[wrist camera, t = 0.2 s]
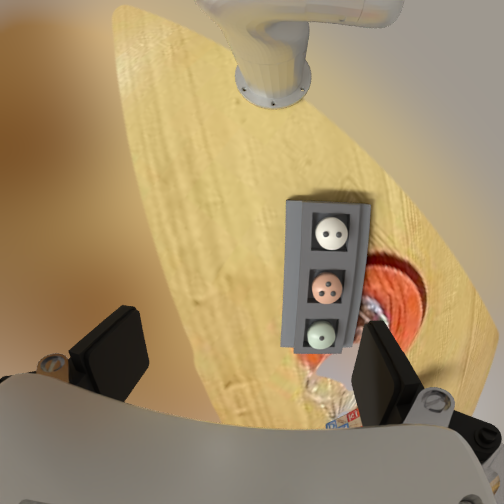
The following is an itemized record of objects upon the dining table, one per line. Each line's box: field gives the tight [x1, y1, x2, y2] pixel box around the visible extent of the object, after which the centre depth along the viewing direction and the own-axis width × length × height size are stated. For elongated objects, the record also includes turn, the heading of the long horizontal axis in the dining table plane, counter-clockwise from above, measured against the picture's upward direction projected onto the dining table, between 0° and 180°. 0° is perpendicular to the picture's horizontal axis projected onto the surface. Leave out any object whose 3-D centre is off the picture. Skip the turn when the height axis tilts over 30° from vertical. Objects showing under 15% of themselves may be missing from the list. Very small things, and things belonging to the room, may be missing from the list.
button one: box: [307, 321, 335, 349], centre depth 45 cm, size 5×5×2 cm
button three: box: [312, 272, 342, 304], centre depth 43 cm, size 5×5×2 cm
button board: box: [281, 200, 371, 354], centre depth 45 cm, size 27×14×4 cm, turn 0°
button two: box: [315, 217, 348, 250], centre depth 41 cm, size 5×5×2 cm
